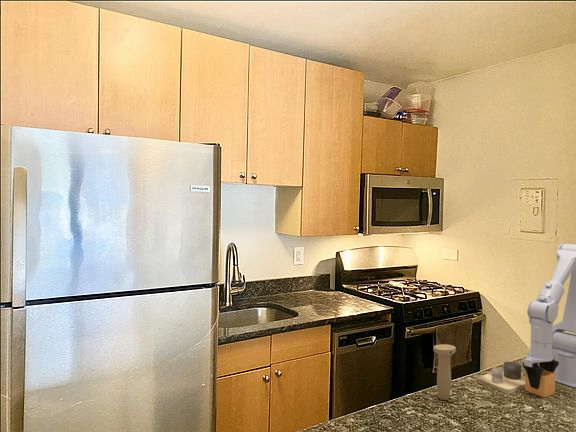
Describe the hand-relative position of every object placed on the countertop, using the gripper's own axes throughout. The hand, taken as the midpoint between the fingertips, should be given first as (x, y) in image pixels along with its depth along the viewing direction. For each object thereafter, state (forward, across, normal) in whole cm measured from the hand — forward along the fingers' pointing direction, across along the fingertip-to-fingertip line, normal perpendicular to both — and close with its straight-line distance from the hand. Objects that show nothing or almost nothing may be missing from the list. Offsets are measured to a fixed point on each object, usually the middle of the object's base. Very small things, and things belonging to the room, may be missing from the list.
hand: (540, 385), depth 135 cm
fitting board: (+2, +3, -10) cm, 10 cm away
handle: (+2, +29, -12) cm, 31 cm away
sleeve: (+2, 0, 0) cm, 2 cm away
